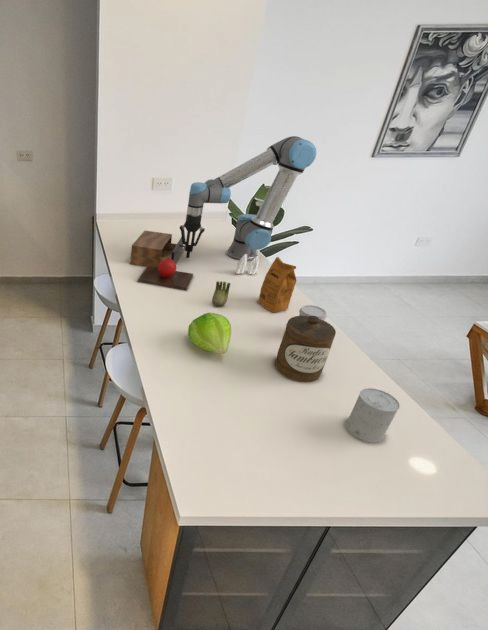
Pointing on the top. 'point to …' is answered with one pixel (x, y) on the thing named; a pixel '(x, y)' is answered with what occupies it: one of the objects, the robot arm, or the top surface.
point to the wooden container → (304, 348)
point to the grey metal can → (372, 415)
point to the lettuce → (211, 332)
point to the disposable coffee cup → (313, 311)
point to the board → (166, 279)
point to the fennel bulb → (220, 294)
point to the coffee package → (278, 286)
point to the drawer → (173, 251)
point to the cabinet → (149, 248)
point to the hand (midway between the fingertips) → (187, 257)
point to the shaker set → (252, 267)
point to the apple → (167, 268)
